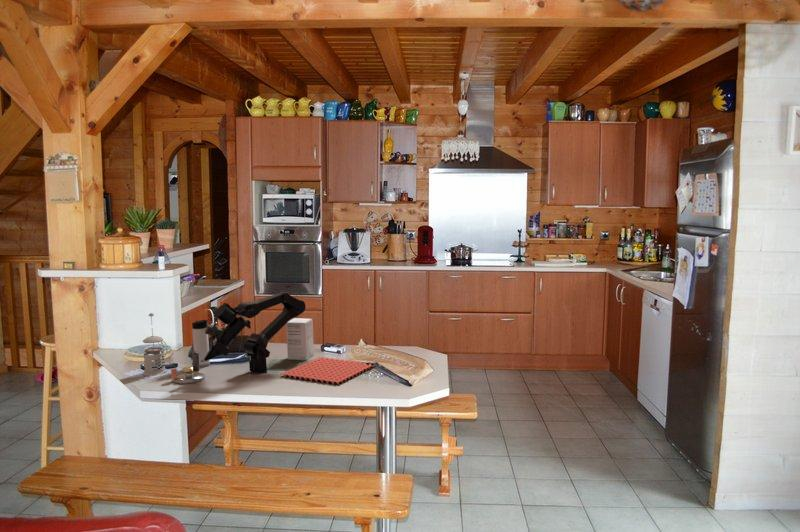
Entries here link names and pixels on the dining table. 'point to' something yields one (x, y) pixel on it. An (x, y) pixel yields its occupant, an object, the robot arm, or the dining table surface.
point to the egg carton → (327, 370)
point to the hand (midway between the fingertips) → (204, 360)
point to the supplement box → (300, 339)
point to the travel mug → (201, 341)
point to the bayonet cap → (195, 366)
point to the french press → (156, 356)
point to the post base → (189, 380)
